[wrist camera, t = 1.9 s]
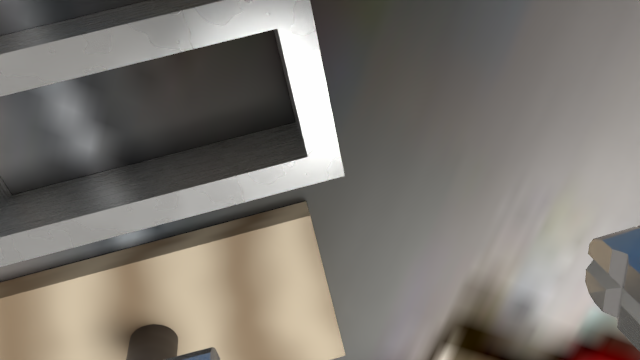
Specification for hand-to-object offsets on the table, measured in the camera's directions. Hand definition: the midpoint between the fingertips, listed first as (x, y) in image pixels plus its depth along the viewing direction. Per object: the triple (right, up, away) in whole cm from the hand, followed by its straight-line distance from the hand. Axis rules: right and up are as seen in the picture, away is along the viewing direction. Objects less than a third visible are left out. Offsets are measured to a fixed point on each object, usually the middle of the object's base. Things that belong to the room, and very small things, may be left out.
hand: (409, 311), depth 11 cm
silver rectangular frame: (-11, +6, +14) cm, 19 cm away
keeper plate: (-12, -6, +21) cm, 25 cm away
